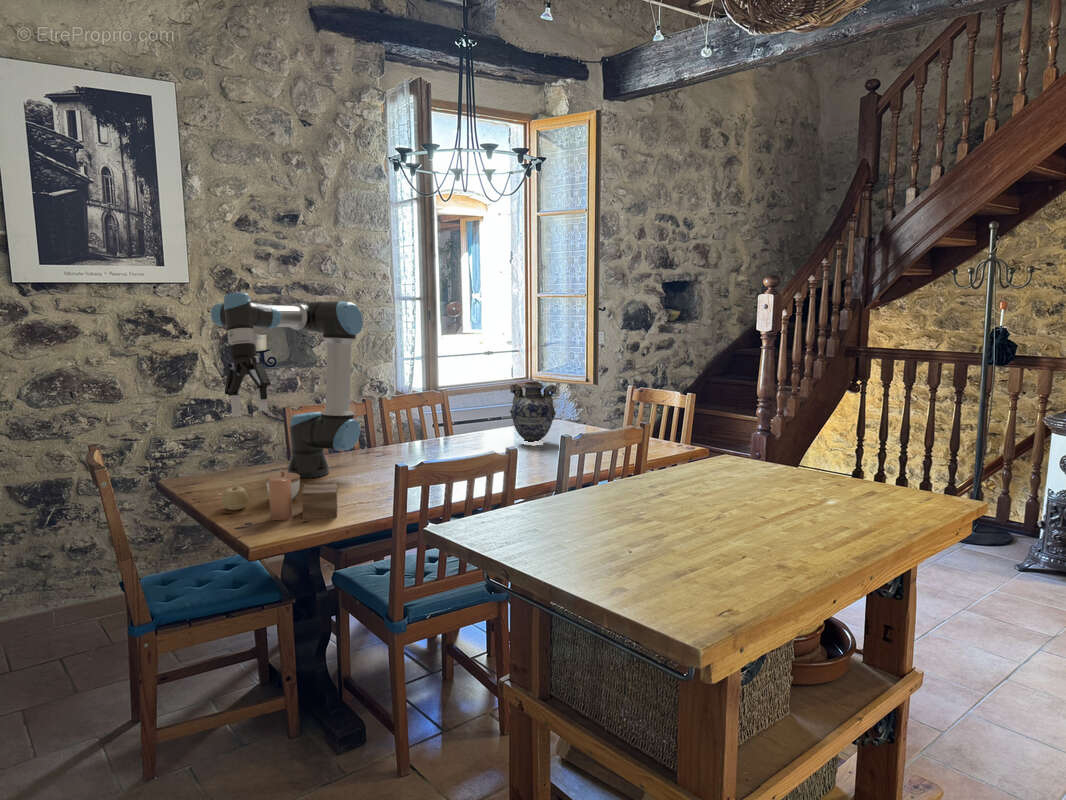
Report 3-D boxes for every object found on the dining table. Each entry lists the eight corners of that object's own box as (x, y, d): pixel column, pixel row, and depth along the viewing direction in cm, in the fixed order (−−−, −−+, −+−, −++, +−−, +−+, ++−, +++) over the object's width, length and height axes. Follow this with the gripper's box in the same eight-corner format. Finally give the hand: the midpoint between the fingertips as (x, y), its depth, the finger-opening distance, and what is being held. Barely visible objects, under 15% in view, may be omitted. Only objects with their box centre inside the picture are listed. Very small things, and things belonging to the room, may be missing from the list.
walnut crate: (304, 509, 238) (304, 485, 237) (337, 507, 240) (336, 483, 239) (302, 519, 229) (302, 493, 227) (336, 517, 231) (336, 491, 230)
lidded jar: (290, 504, 244) (289, 476, 242) (260, 502, 246) (259, 474, 244) (306, 495, 254) (305, 468, 253) (277, 493, 256) (276, 467, 255)
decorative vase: (505, 446, 334) (506, 384, 330) (513, 439, 352) (514, 380, 349) (552, 449, 331) (554, 386, 327) (558, 441, 349) (559, 381, 345)
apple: (249, 502, 245) (253, 485, 241) (241, 518, 238) (246, 501, 234) (224, 495, 243) (228, 478, 239) (216, 512, 236) (220, 494, 232)
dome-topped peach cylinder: (271, 515, 232) (269, 477, 231) (293, 513, 234) (291, 476, 232) (269, 521, 226) (267, 482, 224) (291, 520, 228) (290, 481, 226)
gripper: (207, 351, 232) (215, 419, 231) (255, 336, 217) (263, 409, 217) (229, 351, 238) (237, 417, 237) (277, 337, 224) (285, 407, 223)
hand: (250, 413), depth 227 cm, fingers open, 13 cm apart
